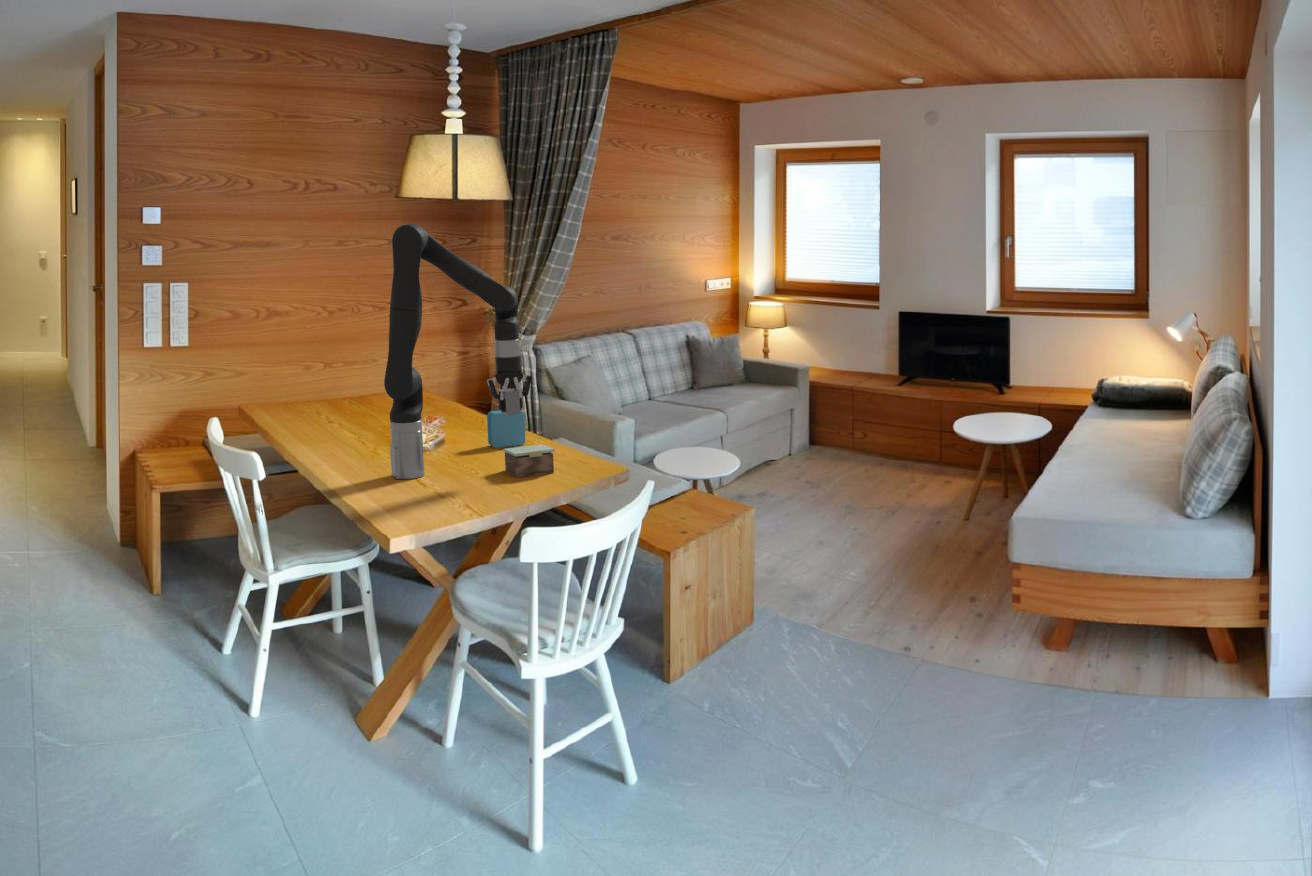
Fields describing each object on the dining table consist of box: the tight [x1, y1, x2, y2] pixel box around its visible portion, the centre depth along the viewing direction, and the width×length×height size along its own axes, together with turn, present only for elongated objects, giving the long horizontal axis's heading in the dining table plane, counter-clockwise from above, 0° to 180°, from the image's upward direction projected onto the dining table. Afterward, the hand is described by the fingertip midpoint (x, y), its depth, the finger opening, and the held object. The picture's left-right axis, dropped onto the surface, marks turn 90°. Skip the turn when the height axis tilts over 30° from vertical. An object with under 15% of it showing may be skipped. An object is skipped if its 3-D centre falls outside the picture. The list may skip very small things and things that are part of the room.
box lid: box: [502, 443, 556, 457], centre depth 321 cm, size 13×11×2 cm
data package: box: [486, 409, 527, 449], centre depth 357 cm, size 12×4×12 cm, turn 117°
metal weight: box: [502, 388, 520, 416], centre depth 314 cm, size 4×4×7 cm
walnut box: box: [504, 452, 555, 479], centre depth 323 cm, size 12×10×6 cm
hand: (511, 410), depth 315 cm, fingers closed on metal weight, 4 cm apart
